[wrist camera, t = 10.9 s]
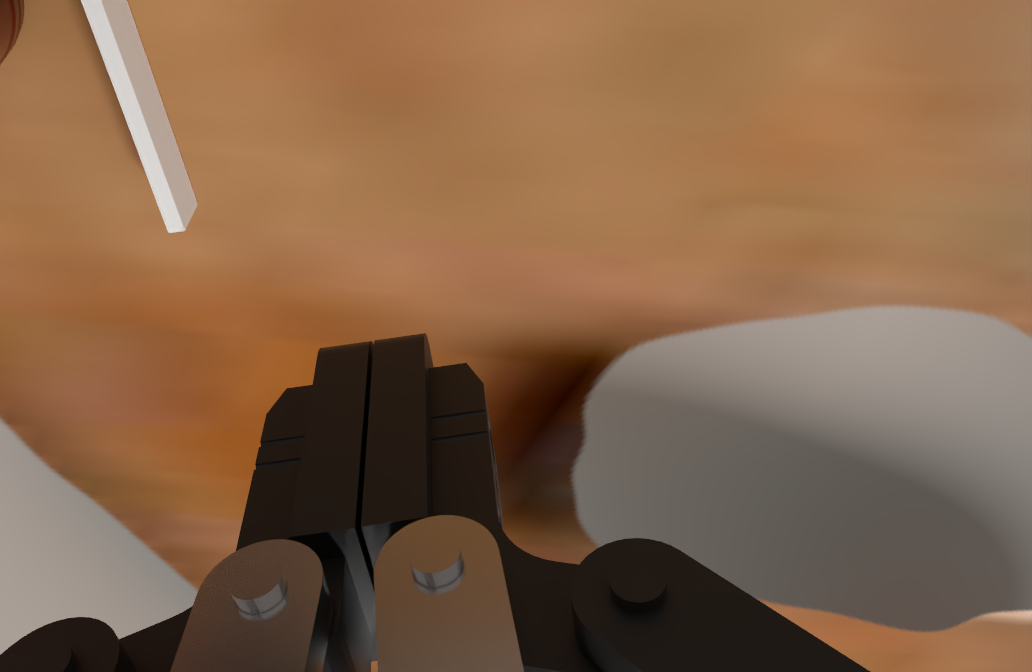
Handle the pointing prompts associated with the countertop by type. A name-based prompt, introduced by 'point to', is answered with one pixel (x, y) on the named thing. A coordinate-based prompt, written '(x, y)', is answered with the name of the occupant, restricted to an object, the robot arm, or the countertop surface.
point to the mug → (10, 25)
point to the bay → (142, 109)
